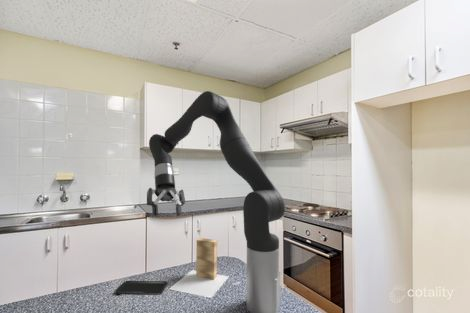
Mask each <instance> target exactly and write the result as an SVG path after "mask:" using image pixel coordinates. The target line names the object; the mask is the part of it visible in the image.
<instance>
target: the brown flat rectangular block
mask: <svg viewBox="0 0 470 313" xmlns="http://www.w3.org/2000/svg"><path fill="white" fill-rule="evenodd" d="M195 253H196V258H195V259H196V260H195V261H196V262H195V263H196V264H195V265H196V267H195V268H196V269H195V271H196V277H202V278H207V279H212V280H214V279H215V278H216V277H217V274H218V240H217V239H210V238H203V237H200V238H197V239H196V252H195Z"/></svg>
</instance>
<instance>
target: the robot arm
mask: <svg viewBox="0 0 470 313" xmlns="http://www.w3.org/2000/svg"><path fill="white" fill-rule="evenodd" d="M202 117H204V118H207V119H210V120H212V121H213V122H215V124H216V126H217V127H218V129H219V131H220V137H219V139H220V140H219V146H220V147H219V148H220V151H221V153H222V155H223V157H224V159H225V162H226V163H227V164H228V166H229V168H231V169H232V170H233V172H235V173H236V174H237V175H238V176H240V177H241V178H242V179H243V180H244V181H245V182H246V183H247V184H248V185H249V186H250V188H251V190H252V191H251V192H249V193H247V195H246V196H245V198H244V200H243V208H242V210H243V212H242V214H243V233H244V237H245V240H246V293H245V294H246V299H245V300H246V304H245V306H246V309H247V310H248V312H249V313H279V310H280V307H281V271H280V239H279V237H278V236H277V235H276V234H275V233H274V234H273V233H270V223H271V222H274V221H275V222H276V221H277V220H281V218H282V217H284V214H285V208H286V207H285V202H284V199H283V196H282V195H281V194H280V192H279V190H278V188H277V187H276V186H275V185H274V183H273V181H271V179H270V178H269V176H268V175H267V173H266V172H265V170H264V169H263V166H262V165H261V163H260V161H259V160H258V158H257V157H256V155H255V153H254V151H253V149H252V147H251V146H250V144H249V142H248V140H247V138H246V137H245V135H244V133H243V132H242V130H241V128H240V126H239V125H238V122H237V121H236V118H235V117H234V114H233V112H232V109H231V107H230V104H229V103H228V100H227V99H225V98H224V97H223V96H221V95H219V94H216V93H215V92H213V91H210V90H209V91H208V90H205V91H203V92H202V93H201V94H199V95H198V97H196V98H195V100H194V101H193V102H192V103H191V104H190V105H189V107H188V108H187V109H186V111H185V112H184V113H183V114H182V115H181V116H180V117H179V119H178V120H176V121H175V122H174V123H173V124H172V125H171V126H169V127H168V128H167V129H166V130H165V131H164V135H162V134H158V133H155V134H153V135H152V136H151V137H150V138H149V140H148V141H149V142H148V146H149V151H150V152H151V156H152V158H153V162H154V176H153V177H154V184H155V185H154V187H155V189H153V188H152V187H149V188H148V189H147V192H146V205H147V206H150V207H151V210H152V215H153V216H154V217H158V215H159V205H158V203H159V201H161V202H168V203H169V202H171V203H172V204H173V205H174V206H175V214H176V217H180V216H181V215H182V206H184V205H185V204H186V198H185V192H184V190H183V189H180V190H177V189H176V181H175V173H174V172H175V171H174V168H173V159H172V156H171V155H170V153H171V152H173V151H174V149H175V148H176V146H177V145H178V144H179V142H181V141H182V140H183V139H185V138H187V136H188V135H190V132H191V131H192V127H193V124H194V122H195V121H196V120H198V119H199V118H202ZM154 194H155V196H156V197H157V198H156V199H155V201H154V200H153V195H154Z"/></svg>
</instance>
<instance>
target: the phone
mask: <svg viewBox="0 0 470 313" xmlns="http://www.w3.org/2000/svg"><path fill="white" fill-rule="evenodd" d="M168 284H169V282H168V281H162V280H160V281H159V280H158V281H157V280H154V281H152V280H146V281H145V280H126V281H124V282H122V283H121V284H120V285H119V286H118V287H117V289H116V290H114V296H121V295H122V296H125V295H138V296H139V295H142V296H143V295H144V296H145V295H147V296H159V295H162V294H163V292H164V291H165V289H166V288H167V286H168Z"/></svg>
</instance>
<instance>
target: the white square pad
mask: <svg viewBox="0 0 470 313" xmlns="http://www.w3.org/2000/svg"><path fill="white" fill-rule="evenodd" d="M228 278H230V276H229V275H223V274H218V273H217V277H216V278H215V279H214V280H212V279H207V278H202V277H196V269H192V270H190V271H189V272H188V273H186V274H185V275H184V276H183V277H181V279H179V280H178V281H177V282H176V283H175V284H173V285H171V287H170V288H169V290H172V291H176V292H180V293H181V292H182V293H184V294H190V295H194V296H199V297H204V298H208V299H209V298H210V299H212V298H213V297H214V296H215V295H216V293H217V292H218V290H219V289H220V288H221V287H222V285H224V283H225V282H226V281H227V280H228Z"/></svg>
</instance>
